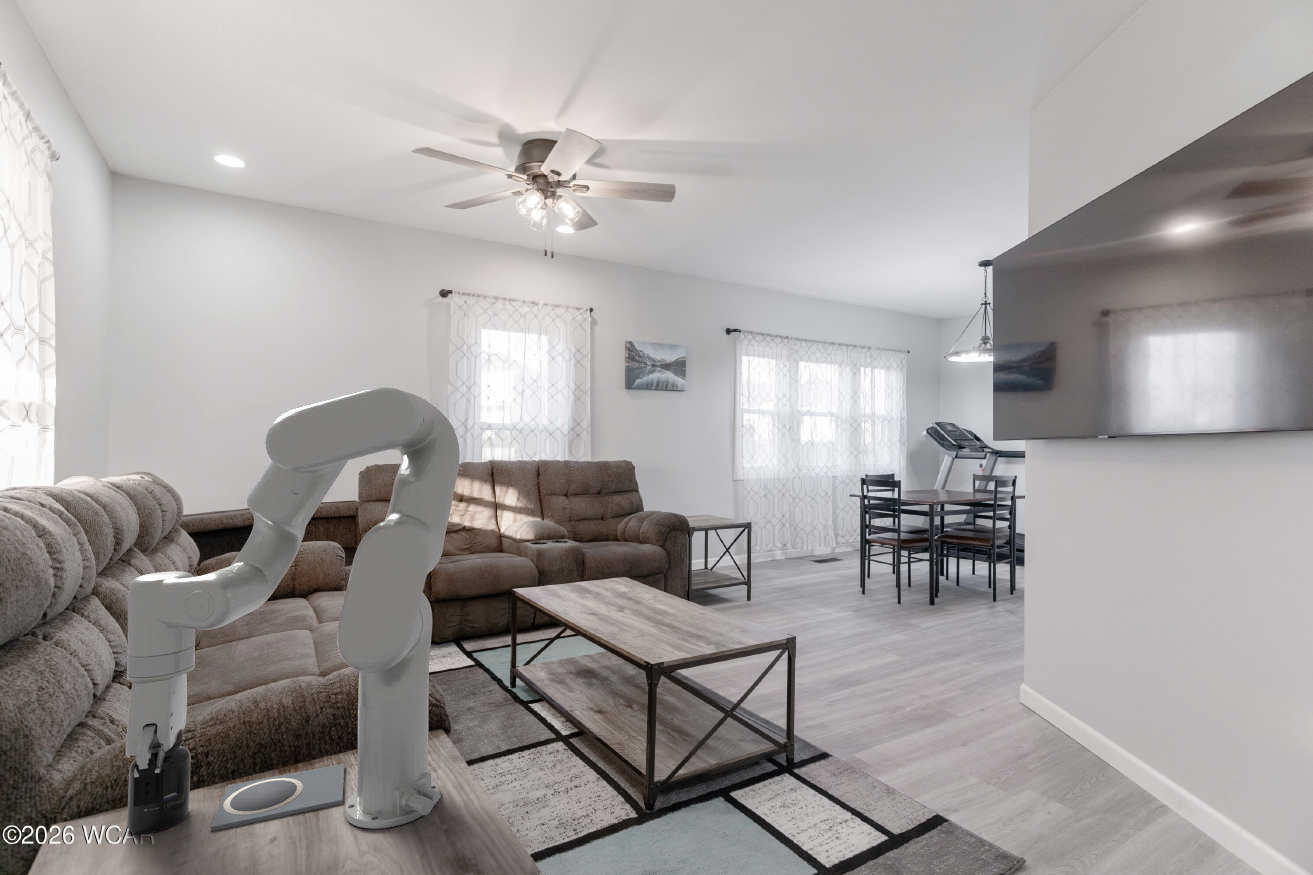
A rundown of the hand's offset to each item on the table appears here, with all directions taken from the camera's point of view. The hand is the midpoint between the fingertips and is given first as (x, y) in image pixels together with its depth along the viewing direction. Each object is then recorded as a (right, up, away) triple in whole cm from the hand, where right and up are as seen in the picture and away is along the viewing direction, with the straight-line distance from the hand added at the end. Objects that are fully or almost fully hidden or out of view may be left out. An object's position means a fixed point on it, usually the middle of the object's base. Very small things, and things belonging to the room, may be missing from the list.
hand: (159, 785), depth 89 cm
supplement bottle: (0, -5, 0) cm, 5 cm away
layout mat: (+14, -5, +6) cm, 16 cm away
